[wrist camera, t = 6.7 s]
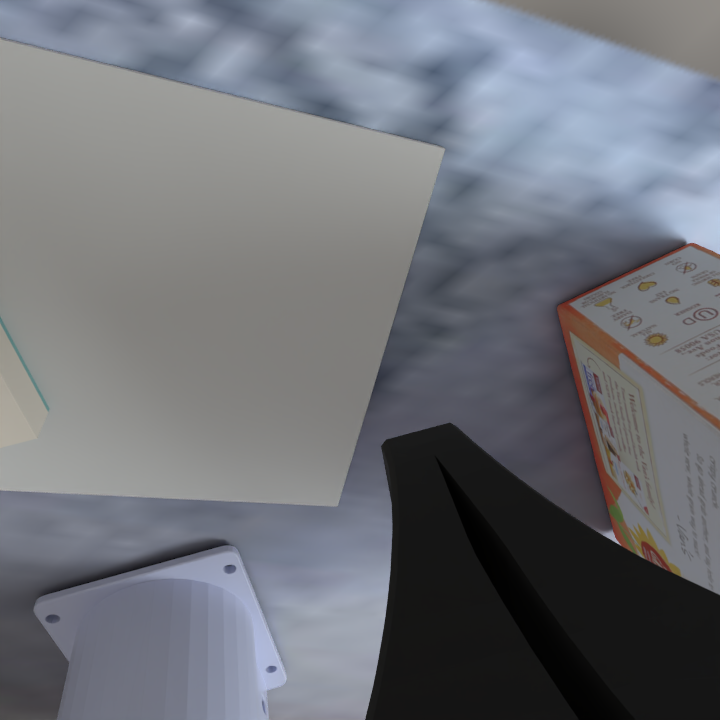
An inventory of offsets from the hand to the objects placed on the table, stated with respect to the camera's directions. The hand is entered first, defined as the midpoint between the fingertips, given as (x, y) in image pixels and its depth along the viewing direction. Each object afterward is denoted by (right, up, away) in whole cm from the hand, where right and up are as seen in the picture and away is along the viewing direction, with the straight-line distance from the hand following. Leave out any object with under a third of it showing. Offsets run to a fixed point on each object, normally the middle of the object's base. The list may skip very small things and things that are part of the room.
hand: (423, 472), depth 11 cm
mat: (-10, +4, +7) cm, 13 cm away
